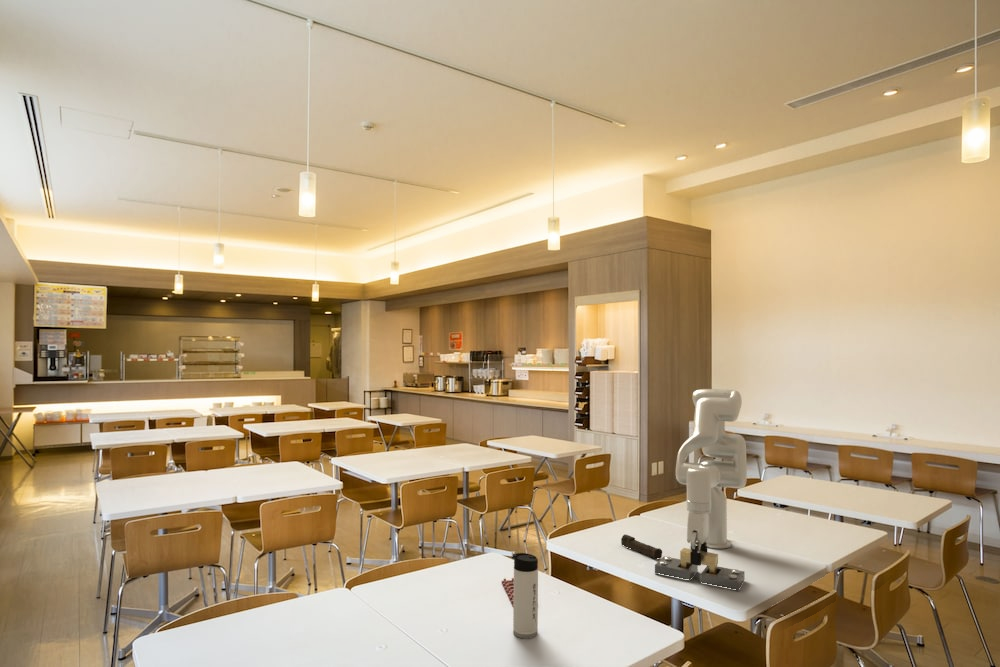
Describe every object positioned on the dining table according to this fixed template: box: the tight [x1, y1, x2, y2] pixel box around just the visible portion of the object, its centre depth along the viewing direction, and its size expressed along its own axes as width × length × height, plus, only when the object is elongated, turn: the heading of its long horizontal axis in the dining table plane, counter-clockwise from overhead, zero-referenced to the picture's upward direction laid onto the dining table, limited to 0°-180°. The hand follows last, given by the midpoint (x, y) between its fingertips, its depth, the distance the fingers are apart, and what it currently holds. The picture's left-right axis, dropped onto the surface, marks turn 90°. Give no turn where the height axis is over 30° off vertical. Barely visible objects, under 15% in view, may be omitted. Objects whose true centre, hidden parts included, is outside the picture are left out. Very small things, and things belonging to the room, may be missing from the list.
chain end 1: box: [654, 556, 699, 581], centre depth 196 cm, size 10×11×4 cm
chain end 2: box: [700, 565, 745, 591], centre depth 188 cm, size 10×11×4 cm
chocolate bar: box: [501, 577, 514, 608], centre depth 177 cm, size 7×19×2 cm, turn 10°
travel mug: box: [512, 552, 539, 640], centre depth 152 cm, size 6×7×20 cm
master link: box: [679, 547, 719, 575], centre depth 192 cm, size 4×11×8 cm, turn 57°
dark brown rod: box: [620, 534, 663, 559], centre depth 217 cm, size 19×4×5 cm, turn 29°
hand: (699, 560), depth 192 cm, fingers open, 7 cm apart
